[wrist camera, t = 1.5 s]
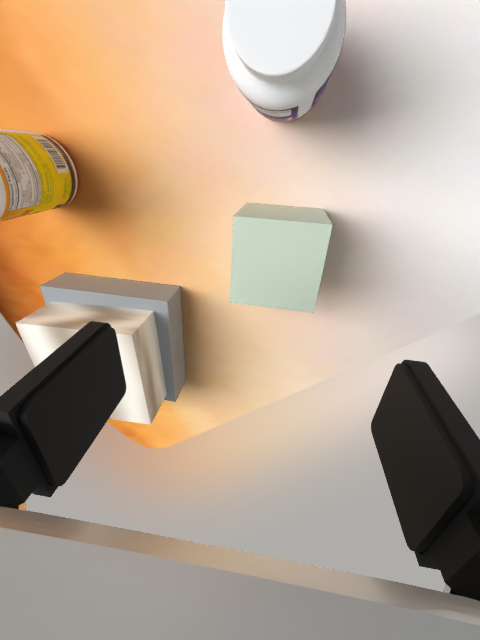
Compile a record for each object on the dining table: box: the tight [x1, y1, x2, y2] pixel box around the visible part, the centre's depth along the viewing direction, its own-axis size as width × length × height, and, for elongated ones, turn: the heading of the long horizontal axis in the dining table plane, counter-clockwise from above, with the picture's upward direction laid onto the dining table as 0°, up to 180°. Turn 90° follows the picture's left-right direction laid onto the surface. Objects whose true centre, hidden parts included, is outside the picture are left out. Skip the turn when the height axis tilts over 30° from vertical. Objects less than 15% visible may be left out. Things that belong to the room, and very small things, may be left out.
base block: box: [40, 273, 186, 402], centre depth 30 cm, size 12×12×4 cm
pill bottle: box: [223, 0, 346, 122], centre depth 14 cm, size 5×5×10 cm
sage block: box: [230, 203, 333, 313], centre depth 21 cm, size 6×6×6 cm
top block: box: [16, 301, 167, 425], centre depth 26 cm, size 10×10×4 cm
